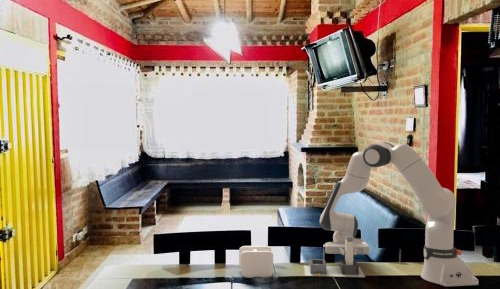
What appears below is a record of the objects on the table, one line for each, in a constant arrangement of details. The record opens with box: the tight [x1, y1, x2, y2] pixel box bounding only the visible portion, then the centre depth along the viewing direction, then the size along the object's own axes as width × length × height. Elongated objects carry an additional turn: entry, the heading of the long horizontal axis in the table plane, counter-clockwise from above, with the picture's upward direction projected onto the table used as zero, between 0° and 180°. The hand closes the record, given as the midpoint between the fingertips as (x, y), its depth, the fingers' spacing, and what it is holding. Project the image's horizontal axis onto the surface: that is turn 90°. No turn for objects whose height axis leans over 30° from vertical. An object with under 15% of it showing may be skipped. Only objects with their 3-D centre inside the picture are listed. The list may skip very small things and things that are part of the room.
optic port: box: [308, 258, 327, 274], centre depth 186 cm, size 7×8×4 cm
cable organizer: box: [238, 245, 274, 279], centre depth 185 cm, size 15×11×12 cm
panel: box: [303, 259, 366, 278], centre depth 186 cm, size 26×13×5 cm, turn 85°
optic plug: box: [344, 235, 354, 265], centre depth 185 cm, size 3×4×16 cm
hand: (349, 253), depth 184 cm, fingers closed on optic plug, 3 cm apart
